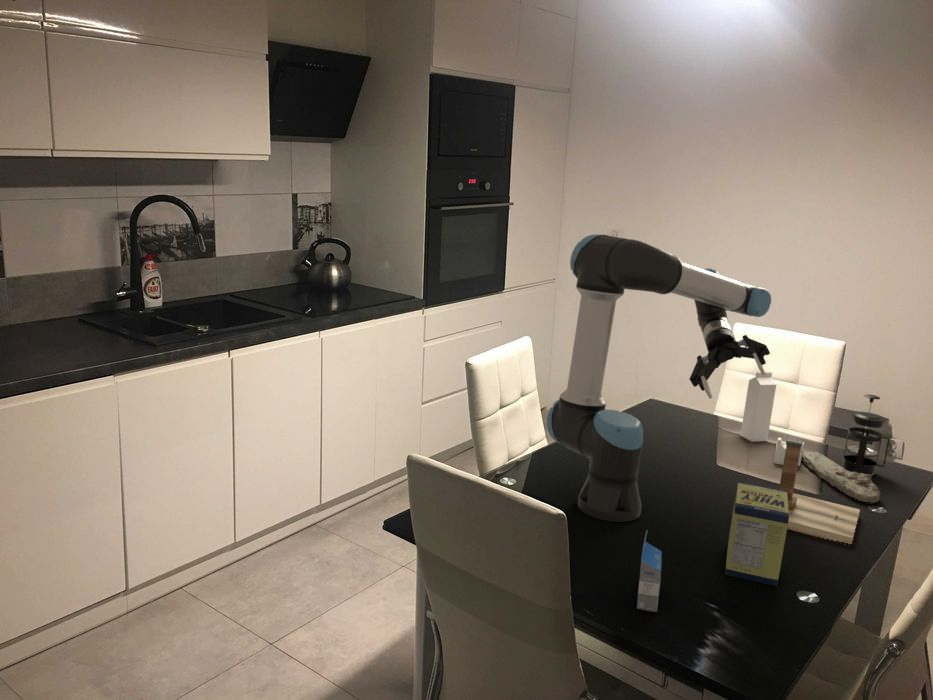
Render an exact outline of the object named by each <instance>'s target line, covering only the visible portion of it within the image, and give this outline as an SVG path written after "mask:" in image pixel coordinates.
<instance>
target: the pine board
mask: <svg viewBox="0 0 933 700" xmlns="http://www.w3.org/2000/svg"><path fill="white" fill-rule="evenodd" d="M793 496H795V497H797V502H796V505H795V507H794V509H793V511H791V510H789V521H788V526H787V530H790V531H794V532H798V533H801V534H805V535H808V536H809V535H810V536H812V537H816V538H819V537H820V538H821V539H823V538H824V540H827V539H829V540H828V541H831V540H833V541H832V542H835V541H839V542H844V543H848V544H852V545H853V542H852V541H854V538H853V537H854V536H855V534H856V530H855V529H856V528H857V526H856V525H858V522H857V521H859V517H860V511H861V509H860V508H856V507H851V506H847V505H843V504H839V503H836V502H835V503H834V502H831V501H826V500H822V499H818V498H814V497H810V496H806V495H801V494H799V493H798V494H797V493H794V492H793ZM854 533H855V534H854Z"/></svg>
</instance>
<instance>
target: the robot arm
mask: <svg viewBox="0 0 933 700" xmlns="http://www.w3.org/2000/svg"><path fill="white" fill-rule="evenodd" d="M569 260H570V262H569V264H570V265H569V266H570V270H571V271H572V274H573V276H574V277H576V286H575V289H576V290H577V291H578V292H579V294H580V302H579V308H578V314H577V320H576V321H577V322H576V328H575V333H574V334H575V335H574V340H573V341H574V342H573V346H572V347H573V348H572V353H571V361H570V366H569V367H570V368H569V374H568V381H567V387H566V390H564V391H562V392H561V393H560V394H559V399H558V400H556V401H554V403H553V404H552V407H550V408H549V410H548V412H547V416H546V427H547V428H546V429H547V432H548V435H549V436H550V437H551V438H552V440H553V441H554V442H556V443H557V444H559V445H561V446H562V448H565V449H567V450H570V451H573V452H574V453H577V454H578V455H581V456H583V457H585V458H587V459H589V466H588V475H587V478H586V479H585V482H584V483H583V485H582V488H581V490H580V492H579V494H578V497H577V498H578V500H577V508H578V509H579V510H580V511H581V512H582V513H584V514H585V515H587V516H588V517H591V518H595V519H597V520H601V521H605V522H613V523H625V522H632V521H634V520H637V519H638V518H639V517H640V516H641V513H642V512H641V511H642V502H641V495H640V490H639V486H638V478H639V477H638V476H639V470H640V463H641V456H642V455H641V454H642V449H643V444H644V437H643V436H644V428H643V424H642V422H641V421H640V420H639V419H638V418H636V417H635V416H634V415H631V414H629V413H627V412H624V411H619V410H616V409H606V406H607V405H606V404H607V401H606V400H605V398H604V396H603V395H602V391H603V386H604V380H605V378H604V377H605V372H606V368H607V360H608V354H609V350H610V349H609V347H610V342H611V336H612V329H613V323H614V316H615V310H616V304H617V300H618V299H621V297H622V296H624V294H625V290H631V291H641V292H642V291H643V292H650V293H655V294H659V295H668V294H675V295H678V296H681V297H684V298H688V299H691V300H694V304H695V308H696V315H697V321H698V326H699V327H700V330H701V332H702V336H703V337H702V338H703V340H704V342H705V345H706V349H707V352H708V353H707V355H705V356H702V355H698V356H697V357H696V363H695V365H694V366H693V367H694V368H693V370H692V372H691V374H690V377H689V381H690V382H691V384H692V386H693V387H695V388H696V387H699V388H700V391H702V392H705V393H706V396H707V397H708V399H712V398H713V395H712V392H711V388H710V385H709V382H708V380H709V379H710V377H711V376H712V374H713V373H714V372H715V370H716V369H718V368H719V367H720V365H722V364H724V363H726V362H727V361H728V362H729V361H731V360H733V359H734V358H737V359H741V358H747V359H752V360H755V364H756V366H757V368H758V370H759V371H760V372H759V373H762V375H763V376H764V375H766V374H765V372H766V371H765V369H764V367H763V366H764V365H766V364H767V363H766V360H765V358H764V357H765V356H769V355H770V354H771V352H770V350H769V348H768V346H767V345H766V344H765V343H761V342H760V341H757V340H755V339H752V338H751V337H750V338H749V337H748V335H747V334H744V335H743V336H742V339H741V340H736V337H735V335H734V332H733V329H732V327H731V325H730V322H729V319H728V314H727V311H728V312H729V311H730V312H732V313H737V314H742V315H744V316H745V315H746V316H749V317H755V318H761V317H763V316H765V315H766V314H767V313H768V312H769V309H771V307H770V306H771V305H772V304H771V303H772V295H771V293H770V291H769V290H767V289H766V288H763V287H760V286H754V285H751V284H746V283H744V282H741V281H738V280H735V279H732V278H728V277H726V276H723V275H720V274H719V271H718V270H716V269H715V268H710V267H709V268H699V267H697V266H693V265H690V264H687V263H685V262H682V260H681V259H680V258H679V257H678V256H677V255H675V254H672V253H670V252H667V251H665V250H662V249H660V248H658V247H655V246H653V245H650V244H647V242H643V241H641V240H637V239H632V238H624V237H619V236H613V235H608V234H590V235H587V236H585V237H583V238H582V239H581V240H580V241H578V242H577V244H576V245H575V246H574V248H573V250H572V252H571V255H570V259H569Z"/></svg>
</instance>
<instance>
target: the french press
mask: <svg viewBox="0 0 933 700" xmlns="http://www.w3.org/2000/svg"><path fill="white" fill-rule="evenodd" d="M863 396H864V397H865V398H867V399H869V403H870V404H869V408H868V412H867V411H852V412H851V416H852V418H853V420H854V422H855V423H856V425H859V426H862V427H859V426H854V427H852V426H851V427H849V428H848V432H847V436H846V440H845V441H846V442H845V447H844V452H843V456H842V464H841V465H840V466H841V467H843V468H845V470H848V471H851V472H857V473H863V474H872V473H875V472H876V473H877V467H879V468H884V467H885V465H886V460H887V454H888V449H889V444H890V439H891V438H890V436H885V435H883V434H882V432H880V431H877V430H873V429H871V428H877V429H878V428H879V429H880V428H882V427H883V426H884V422H886V417H885V416H882V415H880V414H876V413H873V412H871V410H872V404H873V403H874V401H875V400H881V397H880V396H877V395H874V394H864V395H863ZM855 432H856V433H855ZM858 432H859V433H861V434H858ZM869 435H872V436H869ZM849 436H850V437H852V438H854V439H857V440H859V445H854V444H853V445H848V440H849ZM883 439H886V440H887V444H886V447H885V448H886V449H885V453H884V460H883V464H882V463H879V462H878V461H879V457H880V451H881V445H882V442H883V441H882V440H883ZM868 442H872V443H873V442H874V443H877V442H879V447H878V451H876V450H874V449H872V448H869V447H867V445H868ZM846 451H847V452H849V453H850V454H846ZM875 457H877V458H876V461H875V460H874V459H871V458H875ZM855 463H856V464H855ZM865 465H866V466H865Z"/></svg>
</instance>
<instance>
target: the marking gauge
mask: <svg viewBox="0 0 933 700" xmlns="http://www.w3.org/2000/svg"><path fill="white" fill-rule="evenodd" d="M785 442H786V451H785V457H784V463H783V465H782V470H781V476H780V481H779V486H778V487H779V488H778V489H781V490H787V497H788V510H791V511H793V509H794V507H795V505H796V502H797V497H795V496H793V493H794V490H795V486H796V485H795V484H796V480H797V473H798V468H799V466H798V462H799V456H800V450H801V446H802V444H803V442H804V440H803V439H798V438H795V437H787V439H786V440H785Z"/></svg>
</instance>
